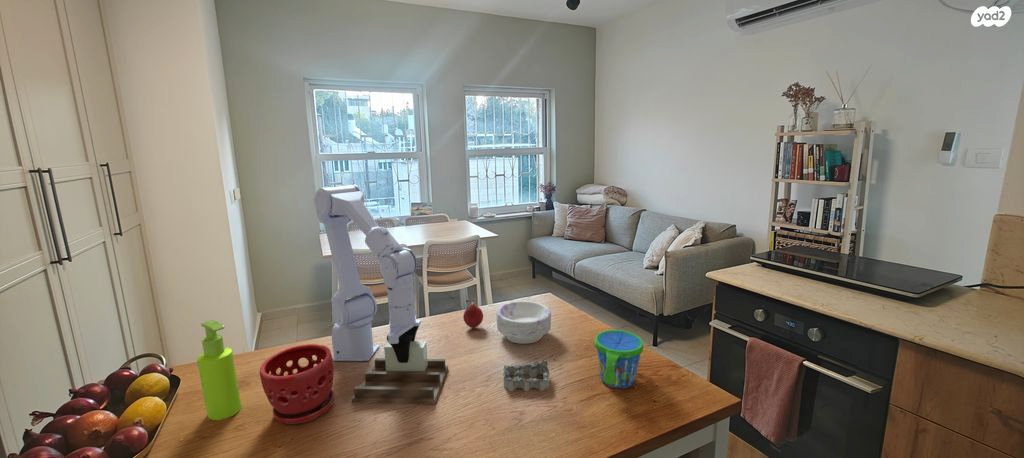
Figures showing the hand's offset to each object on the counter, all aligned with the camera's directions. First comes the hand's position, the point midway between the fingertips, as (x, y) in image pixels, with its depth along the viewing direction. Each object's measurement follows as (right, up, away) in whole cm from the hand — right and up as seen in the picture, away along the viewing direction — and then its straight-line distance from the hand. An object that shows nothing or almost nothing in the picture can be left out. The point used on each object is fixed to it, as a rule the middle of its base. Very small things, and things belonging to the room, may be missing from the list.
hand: (405, 358), depth 99 cm
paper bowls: (+28, -1, +21) cm, 35 cm away
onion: (+13, 0, +27) cm, 30 cm away
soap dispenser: (-35, -8, -11) cm, 37 cm away
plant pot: (-19, -8, -11) cm, 23 cm away
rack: (0, -6, -2) cm, 6 cm away
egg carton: (+28, -6, -2) cm, 29 cm away
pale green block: (0, -2, 0) cm, 3 cm away
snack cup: (+49, -5, -2) cm, 49 cm away
